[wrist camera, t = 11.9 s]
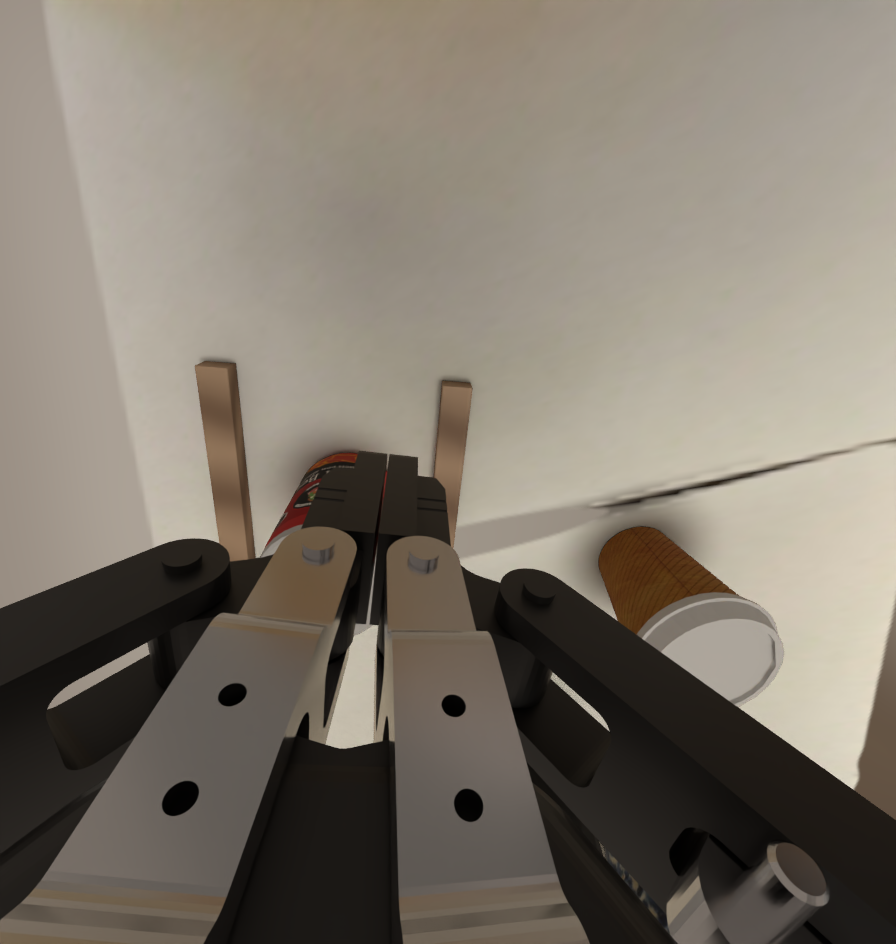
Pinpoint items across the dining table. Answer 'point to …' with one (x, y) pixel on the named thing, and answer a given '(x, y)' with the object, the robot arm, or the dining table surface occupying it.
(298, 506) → the canned food
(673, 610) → the disposable coffee cup
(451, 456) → the walnut bay
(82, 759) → the robot arm
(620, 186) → the dining table surface
